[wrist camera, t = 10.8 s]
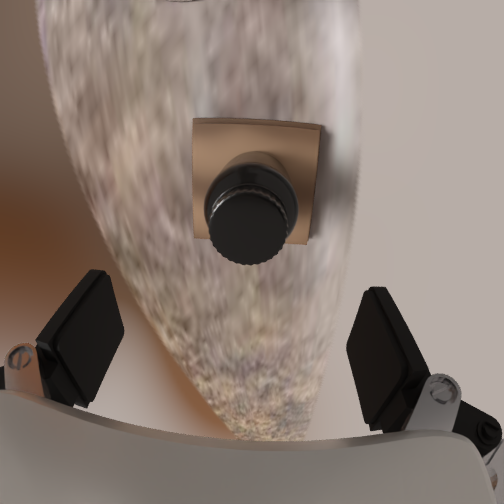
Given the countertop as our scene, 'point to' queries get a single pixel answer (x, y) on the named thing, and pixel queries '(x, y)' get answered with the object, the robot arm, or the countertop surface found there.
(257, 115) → the countertop surface
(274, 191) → the supplement bottle
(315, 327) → the countertop surface
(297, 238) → the walnut pedestal
